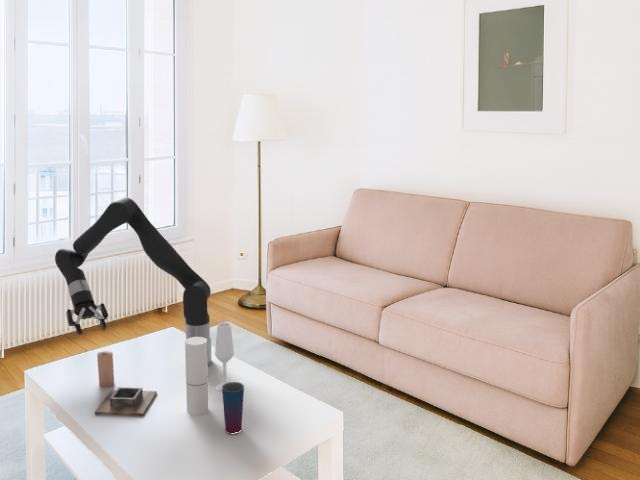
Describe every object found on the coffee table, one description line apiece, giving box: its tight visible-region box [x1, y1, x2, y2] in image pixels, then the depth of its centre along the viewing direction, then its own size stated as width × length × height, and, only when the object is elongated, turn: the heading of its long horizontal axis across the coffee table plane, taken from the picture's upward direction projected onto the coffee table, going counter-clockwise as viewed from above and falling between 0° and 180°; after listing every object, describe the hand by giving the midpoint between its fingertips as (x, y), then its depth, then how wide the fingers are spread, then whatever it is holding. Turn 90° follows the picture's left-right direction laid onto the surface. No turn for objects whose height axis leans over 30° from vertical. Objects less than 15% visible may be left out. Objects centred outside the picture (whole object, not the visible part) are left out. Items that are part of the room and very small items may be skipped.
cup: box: [221, 381, 245, 433], centre depth 199 cm, size 7×7×15 cm
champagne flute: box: [214, 322, 235, 391], centre depth 227 cm, size 7×7×24 cm
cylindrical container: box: [184, 337, 210, 417], centre depth 209 cm, size 7×7×25 cm
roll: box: [96, 350, 115, 389], centre depth 228 cm, size 5×5×12 cm
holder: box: [94, 386, 158, 417], centre depth 215 cm, size 16×16×4 cm
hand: (92, 331), depth 235 cm, fingers open, 8 cm apart
